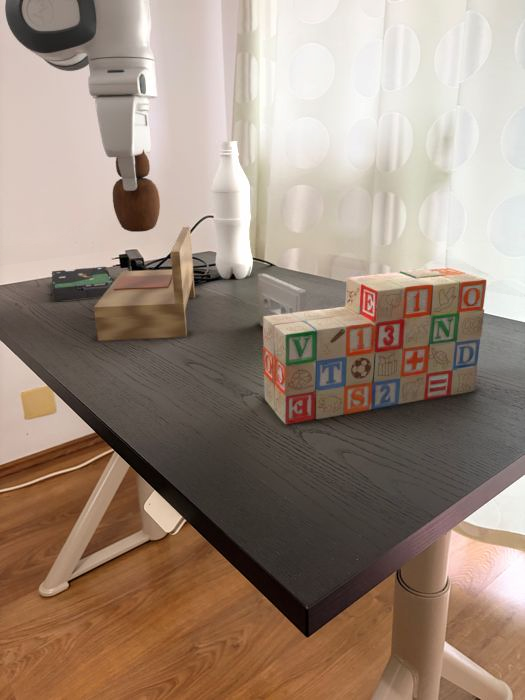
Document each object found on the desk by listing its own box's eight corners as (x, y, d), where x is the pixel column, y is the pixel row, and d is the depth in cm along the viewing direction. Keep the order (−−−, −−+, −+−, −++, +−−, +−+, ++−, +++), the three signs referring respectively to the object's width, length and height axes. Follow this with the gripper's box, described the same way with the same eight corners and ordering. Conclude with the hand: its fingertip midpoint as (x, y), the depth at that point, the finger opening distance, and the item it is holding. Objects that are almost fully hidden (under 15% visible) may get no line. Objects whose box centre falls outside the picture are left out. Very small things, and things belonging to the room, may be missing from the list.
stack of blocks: (285, 427, 55) (282, 301, 51) (263, 401, 61) (260, 285, 56) (476, 392, 61) (488, 277, 57) (440, 371, 67) (449, 265, 63)
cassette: (309, 348, 75) (309, 290, 73) (296, 350, 75) (296, 292, 72) (267, 323, 85) (266, 272, 83) (256, 325, 85) (254, 273, 82)
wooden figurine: (108, 231, 87) (95, 124, 82) (135, 226, 92) (124, 124, 87) (143, 234, 84) (132, 122, 79) (168, 228, 88) (160, 122, 83)
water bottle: (260, 276, 115) (256, 140, 106) (234, 283, 110) (227, 141, 101) (235, 271, 119) (229, 141, 110) (208, 277, 114) (200, 142, 106)
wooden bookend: (98, 342, 80) (86, 254, 76) (125, 299, 101) (117, 229, 96) (186, 338, 80) (179, 251, 76) (195, 297, 101) (190, 226, 97)
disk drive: (52, 285, 113) (54, 303, 99) (50, 271, 112) (51, 287, 98) (107, 279, 116) (116, 296, 103) (106, 265, 115) (114, 280, 102)
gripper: (114, 90, 90) (124, 183, 95) (84, 78, 71) (98, 195, 76) (155, 89, 91) (163, 182, 96) (136, 77, 72) (147, 193, 76)
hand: (134, 188), depth 86 cm, fingers closed on wooden figurine, 6 cm apart
